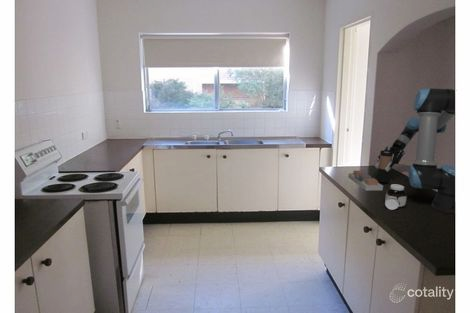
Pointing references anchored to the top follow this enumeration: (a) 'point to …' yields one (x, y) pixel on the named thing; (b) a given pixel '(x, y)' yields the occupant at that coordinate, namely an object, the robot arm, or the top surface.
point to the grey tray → (364, 185)
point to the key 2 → (371, 181)
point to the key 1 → (358, 173)
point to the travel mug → (384, 166)
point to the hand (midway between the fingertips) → (381, 168)
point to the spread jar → (395, 197)
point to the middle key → (364, 176)
